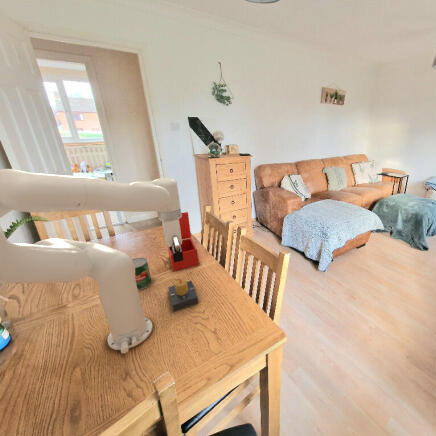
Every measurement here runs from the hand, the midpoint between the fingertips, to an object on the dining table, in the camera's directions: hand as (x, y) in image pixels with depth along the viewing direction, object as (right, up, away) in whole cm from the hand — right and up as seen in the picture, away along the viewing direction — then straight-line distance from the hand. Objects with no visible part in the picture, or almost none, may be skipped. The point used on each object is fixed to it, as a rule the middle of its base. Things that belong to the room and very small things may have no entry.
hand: (176, 255), depth 91 cm
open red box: (-11, -8, +30) cm, 33 cm away
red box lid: (-13, +9, +29) cm, 33 cm away
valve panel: (0, -18, +6) cm, 19 cm away
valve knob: (0, -16, +5) cm, 16 cm away
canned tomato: (-22, -15, +13) cm, 29 cm away
